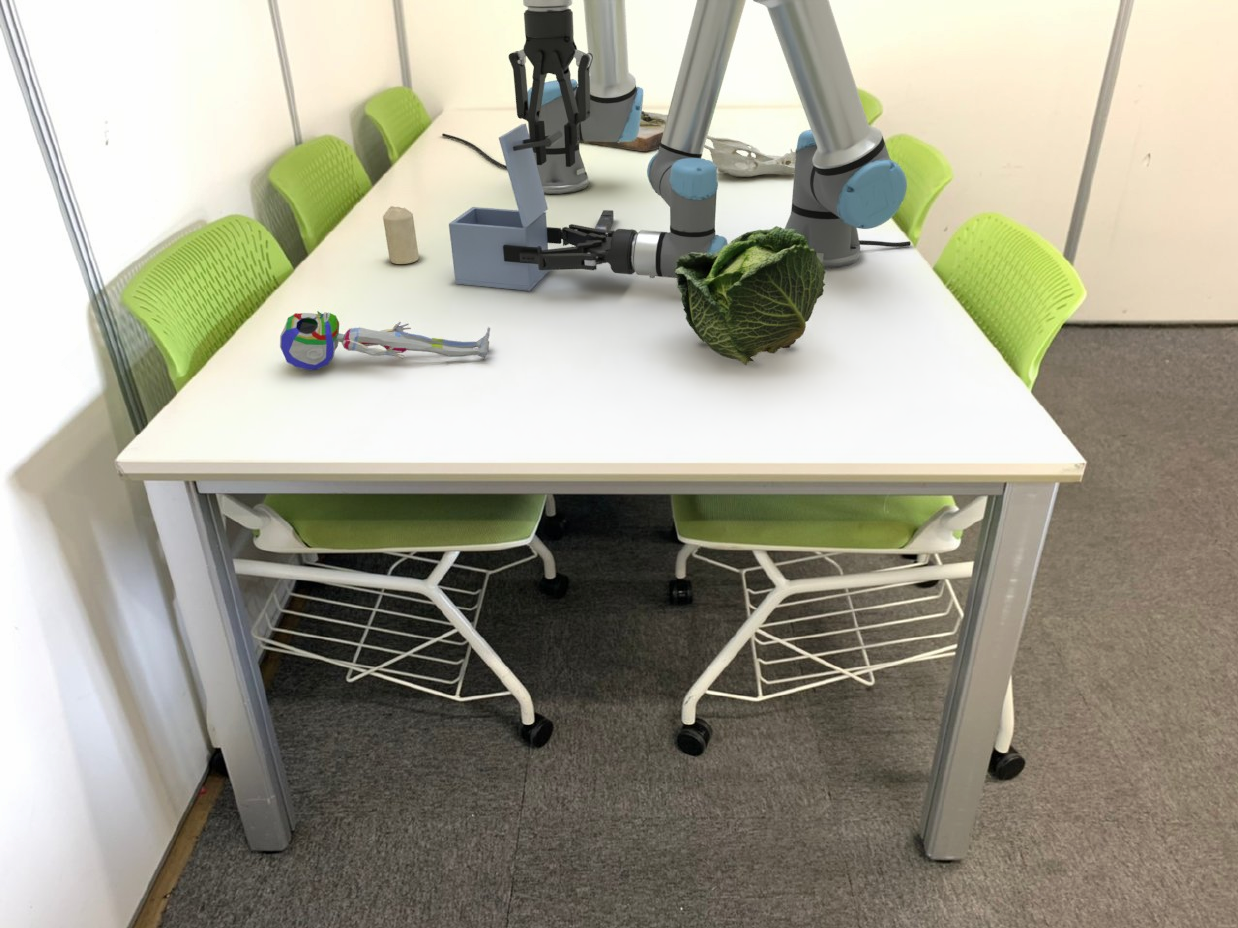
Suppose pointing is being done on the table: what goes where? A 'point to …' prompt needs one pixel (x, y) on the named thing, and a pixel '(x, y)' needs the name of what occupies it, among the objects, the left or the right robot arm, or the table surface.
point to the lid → (525, 171)
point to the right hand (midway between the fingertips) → (515, 243)
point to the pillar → (605, 220)
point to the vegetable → (751, 292)
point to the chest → (495, 248)
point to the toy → (360, 341)
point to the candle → (400, 235)
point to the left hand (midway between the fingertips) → (556, 163)
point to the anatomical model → (748, 159)
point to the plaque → (643, 133)
